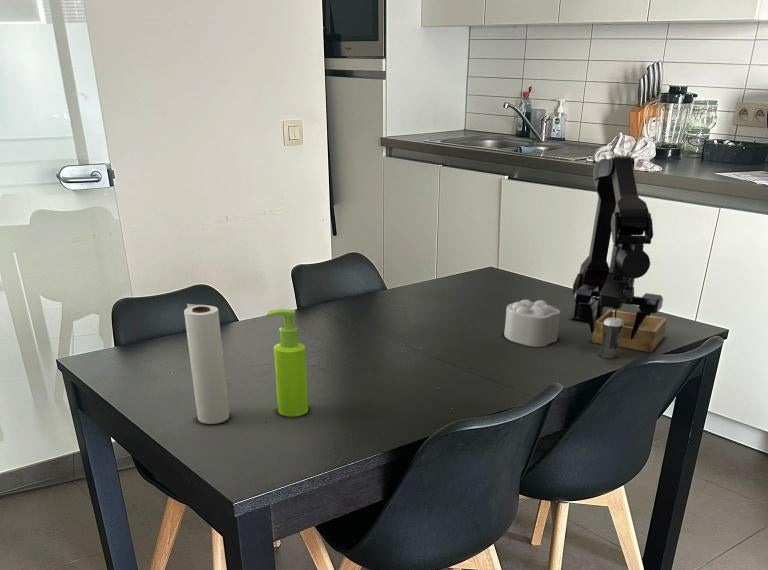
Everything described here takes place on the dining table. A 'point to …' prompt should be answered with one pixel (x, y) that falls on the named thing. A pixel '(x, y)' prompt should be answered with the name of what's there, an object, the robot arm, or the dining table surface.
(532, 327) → the lumpy-topped squat cylinder
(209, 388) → the paper towel roll
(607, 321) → the silver capped cylinder
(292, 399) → the soap dispenser
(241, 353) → the dining table surface
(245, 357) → the dining table surface
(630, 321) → the crate
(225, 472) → the dining table surface
